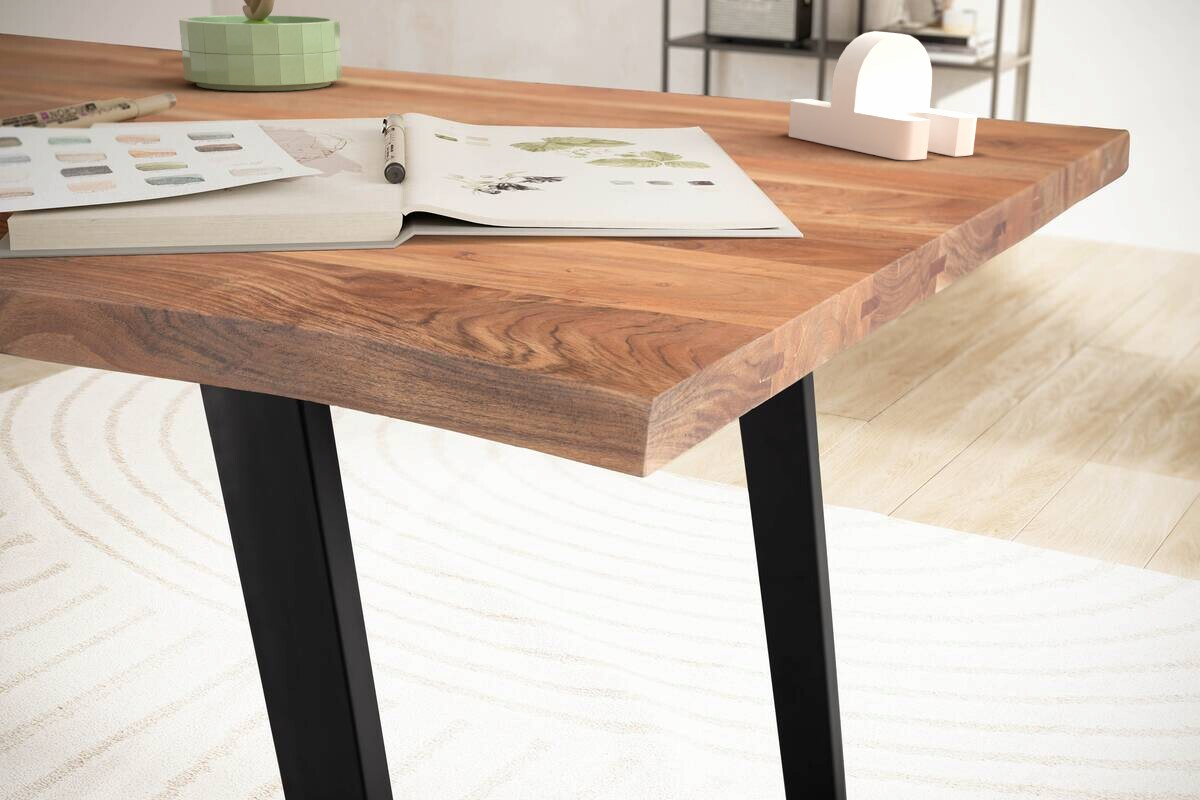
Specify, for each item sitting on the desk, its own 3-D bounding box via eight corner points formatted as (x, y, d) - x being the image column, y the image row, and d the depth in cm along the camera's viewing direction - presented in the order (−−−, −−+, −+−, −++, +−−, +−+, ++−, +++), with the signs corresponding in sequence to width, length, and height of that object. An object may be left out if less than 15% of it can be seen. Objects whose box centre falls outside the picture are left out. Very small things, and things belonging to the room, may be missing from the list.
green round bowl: (214, 95, 113) (209, 25, 111) (165, 80, 125) (159, 16, 123) (366, 88, 121) (363, 22, 119) (306, 74, 133) (303, 14, 131)
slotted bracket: (978, 154, 88) (991, 37, 86) (901, 160, 85) (913, 39, 83) (855, 130, 99) (864, 26, 96) (783, 135, 96) (790, 27, 93)
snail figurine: (254, 82, 119) (244, -55, 115) (221, 76, 123) (211, -56, 119) (305, 79, 122) (298, -54, 118) (272, 73, 127) (264, -55, 123)
